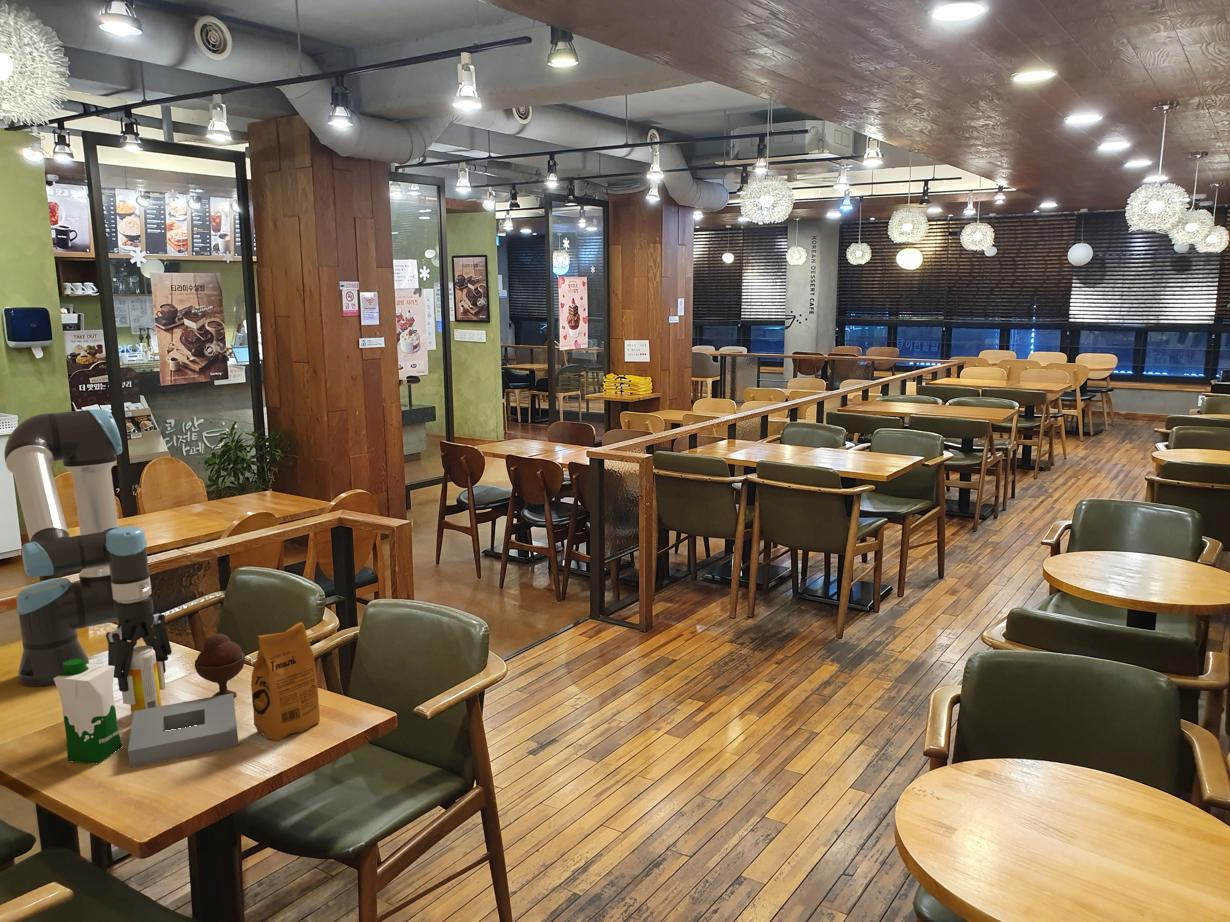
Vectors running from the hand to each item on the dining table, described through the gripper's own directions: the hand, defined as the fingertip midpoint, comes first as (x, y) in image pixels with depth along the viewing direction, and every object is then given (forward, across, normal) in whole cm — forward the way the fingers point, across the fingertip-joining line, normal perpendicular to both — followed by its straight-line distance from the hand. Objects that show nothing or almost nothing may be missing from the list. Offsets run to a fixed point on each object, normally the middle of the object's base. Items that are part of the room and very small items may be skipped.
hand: (144, 695), depth 206 cm
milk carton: (+4, -18, -6) cm, 19 cm away
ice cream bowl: (+4, +12, -11) cm, 17 cm away
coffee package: (+4, +4, -35) cm, 36 cm away
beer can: (+4, 0, 0) cm, 4 cm away
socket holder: (+4, -6, -17) cm, 18 cm away
